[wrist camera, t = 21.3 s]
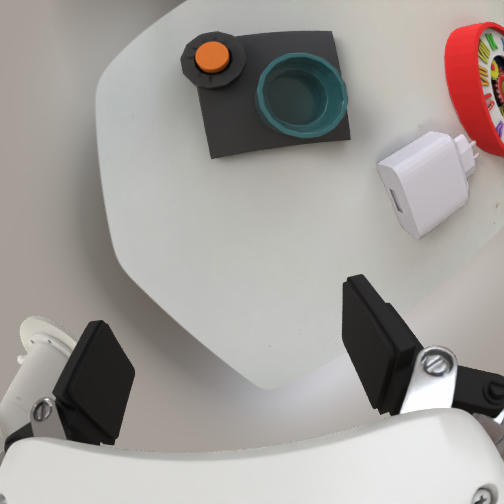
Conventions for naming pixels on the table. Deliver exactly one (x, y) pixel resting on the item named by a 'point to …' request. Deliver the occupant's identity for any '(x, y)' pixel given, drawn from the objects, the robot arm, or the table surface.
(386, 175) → the charger
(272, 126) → the bowl
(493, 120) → the toy clock
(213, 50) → the button
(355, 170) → the table surface
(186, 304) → the table surface
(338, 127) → the dark grey flat slab
